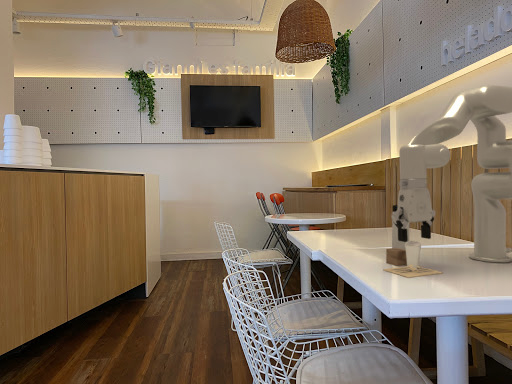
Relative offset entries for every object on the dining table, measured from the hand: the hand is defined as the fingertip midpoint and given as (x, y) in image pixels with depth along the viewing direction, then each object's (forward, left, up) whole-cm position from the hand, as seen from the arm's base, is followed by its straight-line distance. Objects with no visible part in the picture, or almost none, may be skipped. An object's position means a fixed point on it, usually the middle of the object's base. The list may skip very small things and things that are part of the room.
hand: (414, 239), depth 105 cm
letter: (+1, 0, -10) cm, 10 cm away
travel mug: (-18, -23, -10) cm, 31 cm away
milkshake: (+1, 0, -10) cm, 10 cm away
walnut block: (-3, -10, -10) cm, 15 cm away
